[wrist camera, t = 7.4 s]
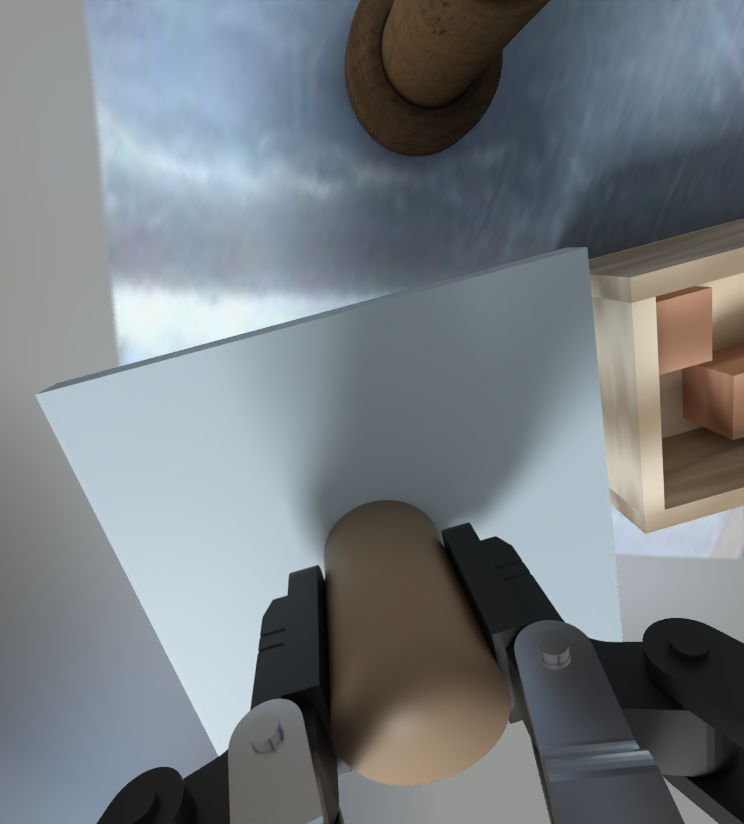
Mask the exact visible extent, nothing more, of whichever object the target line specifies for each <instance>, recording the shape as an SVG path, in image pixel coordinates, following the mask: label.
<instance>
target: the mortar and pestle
mask: <svg viewBox="0 0 744 824" xmlns="http://www.w3.org/2000/svg"><path fill="white" fill-rule="evenodd" d="M549 1H550V0H360V2H359V4H358V7H357V9H356V11H355V14H354V17H353V20H352V24H351V28H350V33H349V38H348V42H347V48H346V56H345V77H346V86H347V91H348V95H349V99H350V102H351V105H352V107H353V110H354V112H355V114H356V116H357V118H358V120H359V121H360V123H361V125H362V126H363V127H364V129H365V130H366V131H367V132H368V134H369V135H370V136H371V137H372V138H373V139H374V140H376V141H377V142H378V143H380V144H381V145H382V146H384V147H386V148H387V149H389V150H391V151H394V152H396V153H399V154H403V155H409V156H425V155H431V154H435V153H438V152H440V151H443V150H445V149H447V148H448V147H450V146H452V145H453V144H454V143H456V142H457V141H458V140H460V139H461V138H462V137H463V136H464V135H466V134H467V133H468V132H469V131H470V130H471V129H472V128H473V127H474V126H475V125H476V124H477V123H478V122H479V121H480V119H481V118H482V117H483V115H484V114H485V112H486V111H487V109H488V107H489V106H490V104H491V102H492V100H493V97H494V95H495V93H496V90H497V87H498V83H499V79H500V75H501V68H502V49H503V48H504V47H505V46H506V45H507V44H508V43H509V42H510V41H511V40H512V39H513V37H514V36H515V35H516V34H517V33H518V32H519V31H520V30H521V29H522V28H523V27H524V26H525V25H526V24H527V23H528V22H529V21H530V20H531V19H532V18H533V17H534V16H535V15H536V14H537V13H538V12H539V11H540V10H541V9H542V8H543V7H544V6H545V5H546V4H547V3H548V2H549Z"/></svg>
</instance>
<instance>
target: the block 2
mask: <svg viewBox="0 0 744 824" xmlns="http://www.w3.org/2000/svg"><path fill="white" fill-rule="evenodd" d="M682 387H683V418H685V419H687V420H689V421H692V422H694V423H696V424H698V425H701V426H703V427H705V428H707V429H709V430H712V431H714V432H716V433H718V434H721V435H723V436H725V437H727V438H729V439H732V440H735V439H738V438H742V437H744V345H743V344H740V345H736V346H732V347H729V348H725V349H721V350H718V351H714V352H712V361H708V362H705V363H701V364H697V365H694V366H690V367H687V368H683V369H682Z"/></svg>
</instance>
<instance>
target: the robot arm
mask: <svg viewBox="0 0 744 824" xmlns="http://www.w3.org/2000/svg"><path fill="white" fill-rule="evenodd" d="M441 534H442V539H443V543H444V547H445V549H446V551H447V554H448V556H449V558H450V560H451V563H452V565H453V567H454V569H455V571H456V574H457V576H458V578H459V580H460V582H461V585H462V587H463V589H464V591H465V594H466V596H467V598H468V600H469V602H470V605H471V607H472V609H473V611H474V613H475V616H476V618H477V620H478V622H479V624H480V627H481V629H482V631H483V633H484V636H485V638H486V640H487V642H488V644H489V647H490V649H491V651H492V653H493V655H494V658H495V660H496V662H497V664H498V666H499V668H500V670H501V672H502V674H503V676H504V679H505V681H506V683H507V685H508V688H509V692H510V698H511V711H510V716H509V722H510V723H515V722H517V721H521V720H523V722H524V724H525V726H526V728H527V731H528V733H529V735H530V737H531V742H532V747H533V752H534V756H535V761H536V765H537V769H538V773H539V777H540V782H541V786H542V790H543V794H544V798H545V802H546V806H547V810H548V814H549V818H550V822H551V824H685V823H684V821H683V819H682V817H681V815H680V813H679V810H678V808H677V806H676V804H675V802H674V800H673V798H672V795H671V793H670V791H669V789H668V787H667V785H666V783H665V780H664V778H665V779H666V780H667V781H669V782H670V783H671V784H672V785H673V786H674V787H675V788H677V789H678V790H679V791H680V792H681V793H683V794H684V795H685V796H686V797H688V798H689V799H690V800H691V801H692V802H694V803H695V804H696V805H697V806H698V807H700V808H701V809H702V810H703V811H704V812H706V813H707V814H708V815H709V816H710V817H712V818H713V819H714V820H715V821H716V822H718V823H719V824H744V643H742V642H740V641H738V640H736V639H734V638H732V637H730V636H728V635H726V634H724V633H723V632H720V631H719V630H717V629H715V628H713V627H710V626H709V625H706V624H704V623H701V622H698V621H695V620H690V619H684V618H669V619H664V620H660V621H657V622H655V623H653V624H652V625H650V626H649V627H648V628H647V630H646V631H645V633H644V636H643V642H606V641H599V640H595V639H592V638H589V637H587V636H586V634H585V633H583V632H582V631H581V630H580V629H578V628H577V627H575V626H573V625H571V624H569V623H565V621H564V620H563V619H562V618H561V616H560V615H559V613H558V612H557V610H556V609H555V607H554V606H553V604H552V603H551V602H550V600H549V599H548V597H547V596H546V594H545V593H544V591H543V590H542V588H541V587H540V585H539V584H538V583H537V581H536V580H535V578H534V577H533V575H531V573H530V571H529V569H528V568H527V567H526V565H525V564H524V563H523V562H522V559H521V558H520V556H519V555H518V553H517V552H516V550H515V549H514V548H513V546H512V545H510V544H508V543H507V542H505V541H503V540H502V539H500V538H498V537H497V536H494V537H491V538H487V539H484V540H480V539H479V537H478V536H477V534H476V532H475V530H474V529H473V527H472V525H471V524H470V523H469V522H468V523H464V524H461V525H457V526H454V527H450V528H447V529H443V530H441ZM260 637H261V638H260V639H259V647H258V651H259V653H258V655H257V662H256V670H255V677H254V685H253V692H252V700H251V708H250V711H249V712H248V713H247V714H246V715H245V716H244V717H243V718H242V719H241V720H240V722H239V723H238V724H237V726H236V727H235V729H234V731H233V733H232V735H231V738H230V741H229V746H228V749H227V750H226V751H225V752H224V753H223V754H221V755H220V756H219V757H217V758H216V759H215V760H213V761H211V762H210V763H208V764H207V765H205V766H204V767H202V768H200V769H199V770H197V771H195V772H194V773H192V774H191V775H189V776H187V777H186V778H184V779H182V777H181V775H180V774H179V773H178V771H176V770H175V769H173V768H170V767H158V768H154V769H151V770H148V771H146V772H145V773H142V774H141V775H139V776H138V777H136V778H135V779H133V780H132V781H131V782H129V783H128V784H127V785H126V786H125V787H124V788H123V789H122V790H121V791H120V792H119V793H118V794H117V795H116V797H115V798H114V799H113V801H112V802H111V803H110V805H109V806H108V808H107V809H106V811H105V812H104V814H103V815H102V817H101V818H100V820H99V821H98V822H97V824H345V823H344V819H343V815H342V811H341V808H340V806H339V792H338V775H340V774H342V773H346V772H349V771H352V769H351V768H350V767H349V766H348V765H347V764H346V763H345V762H344V761H343V760H342V758H341V757H340V756H339V754H338V752H337V750H336V748H335V746H334V743H333V740H332V733H331V716H330V715H331V713H330V690H329V666H328V642H327V619H326V595H325V579H324V576H323V573H322V571H321V568H320V566H319V565H316V566H312V567H309V568H305V569H302V570H298V571H295V572H291V573H290V574H289V580H288V595H287V596H284V597H280V598H277V599H273V600H272V602H271V604H270V605H269V607H268V609H267V610H266V612H265V614H264V615H263V617H262V624H261V632H260ZM662 775H663V776H662ZM663 777H664V778H663Z"/></svg>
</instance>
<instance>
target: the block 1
mask: <svg viewBox="0 0 744 824" xmlns="http://www.w3.org/2000/svg"><path fill="white" fill-rule="evenodd" d="M656 317H657V341H658V364H659V375H661V374H665V373H668V372H672V371H676V370H679V369H683V368H687V367H690V366H694V365H697V364H701V363H705V362H708V361H712V287H704V286H693V287H689V288H685V289H682V290H678V291H674V292H671V293H667V294H663V295H660V296H656Z"/></svg>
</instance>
